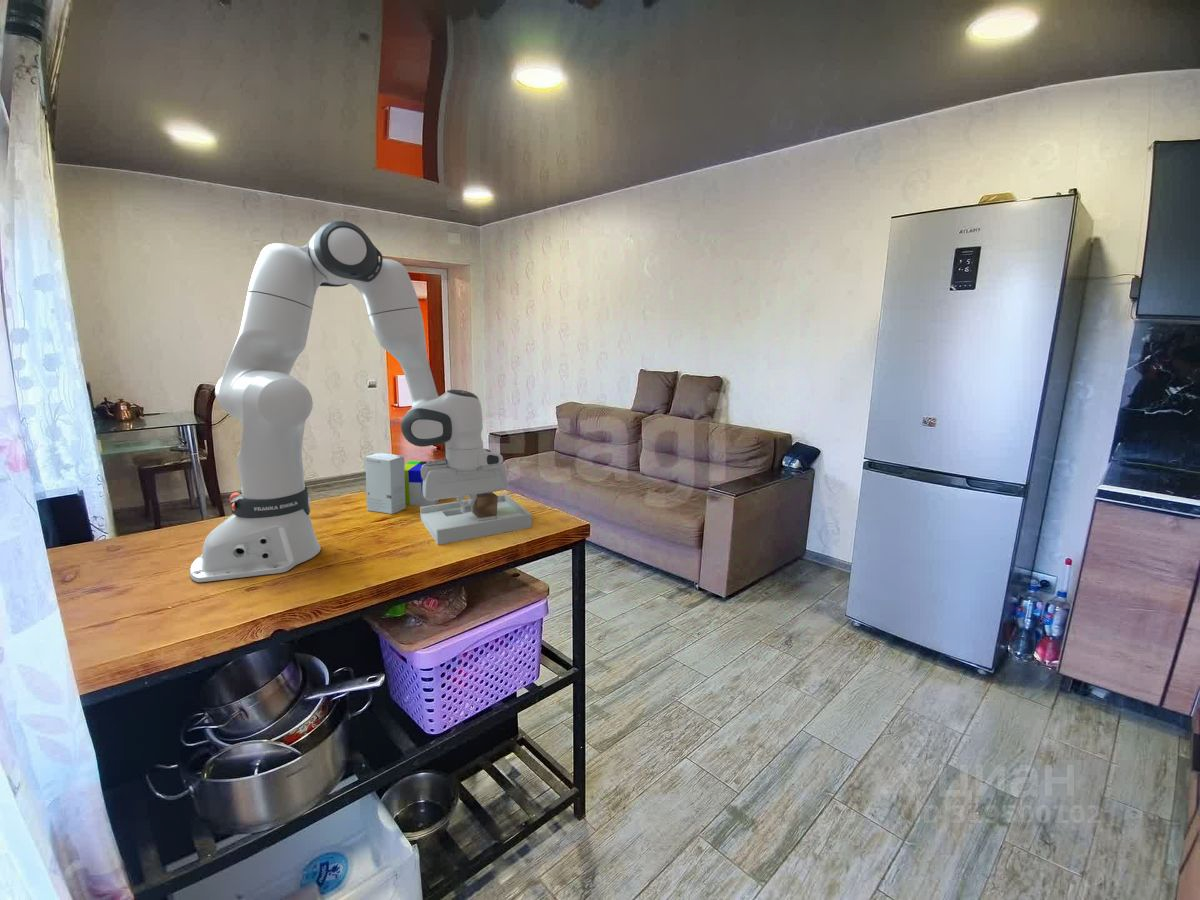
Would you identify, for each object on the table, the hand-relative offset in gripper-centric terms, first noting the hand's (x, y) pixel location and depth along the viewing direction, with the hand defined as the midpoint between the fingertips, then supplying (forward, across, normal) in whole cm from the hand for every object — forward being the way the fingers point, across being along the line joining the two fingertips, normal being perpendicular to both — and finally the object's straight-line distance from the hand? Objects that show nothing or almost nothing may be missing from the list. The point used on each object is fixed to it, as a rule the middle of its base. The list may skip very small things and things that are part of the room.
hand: (466, 511), depth 127 cm
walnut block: (+1, +4, 0) cm, 5 cm away
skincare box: (+4, -15, +21) cm, 26 cm away
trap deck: (+4, +2, 0) cm, 4 cm away
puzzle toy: (+4, -5, +25) cm, 26 cm away
